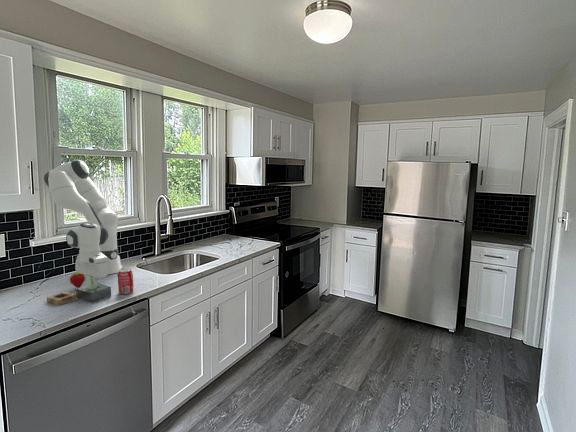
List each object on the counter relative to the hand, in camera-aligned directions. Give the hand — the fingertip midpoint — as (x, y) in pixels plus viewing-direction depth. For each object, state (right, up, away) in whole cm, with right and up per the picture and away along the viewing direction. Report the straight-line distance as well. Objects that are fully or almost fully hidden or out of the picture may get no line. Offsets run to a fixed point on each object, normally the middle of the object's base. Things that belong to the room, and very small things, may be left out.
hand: (91, 283), depth 163 cm
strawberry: (-15, -5, +13) cm, 21 cm away
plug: (0, -4, 0) cm, 4 cm away
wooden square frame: (-12, -7, -4) cm, 15 cm away
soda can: (+13, -7, +8) cm, 17 cm away
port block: (0, -7, +1) cm, 7 cm away
